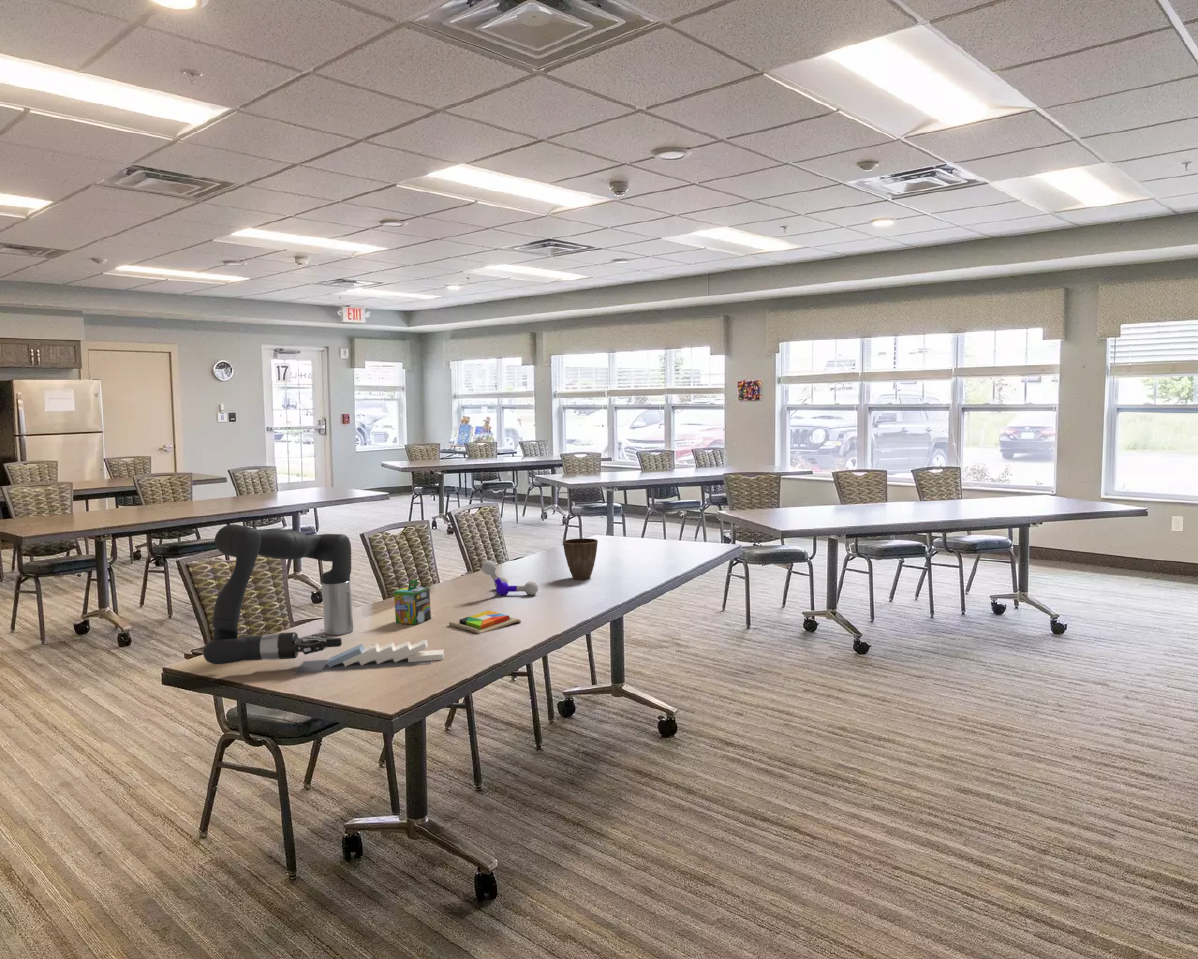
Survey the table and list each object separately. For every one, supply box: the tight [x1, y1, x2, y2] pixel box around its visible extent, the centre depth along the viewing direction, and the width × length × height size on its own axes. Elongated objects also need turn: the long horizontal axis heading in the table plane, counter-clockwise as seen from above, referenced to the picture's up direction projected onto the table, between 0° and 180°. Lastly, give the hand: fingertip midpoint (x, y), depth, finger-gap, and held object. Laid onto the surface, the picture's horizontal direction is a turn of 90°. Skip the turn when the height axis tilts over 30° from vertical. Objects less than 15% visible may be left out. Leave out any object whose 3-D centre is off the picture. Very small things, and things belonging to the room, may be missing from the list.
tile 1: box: [327, 643, 365, 668], centre depth 247 cm, size 2×5×10 cm
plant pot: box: [562, 537, 599, 581], centre depth 360 cm, size 15×15×16 cm
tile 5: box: [393, 639, 429, 662], centre depth 249 cm, size 2×5×10 cm
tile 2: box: [343, 642, 381, 666], centre depth 247 cm, size 2×5×10 cm
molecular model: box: [481, 560, 539, 597], centre depth 335 cm, size 21×21×15 cm
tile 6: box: [408, 649, 445, 662], centre depth 249 cm, size 2×5×10 cm
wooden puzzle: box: [448, 610, 522, 635], centre depth 289 cm, size 18×19×4 cm
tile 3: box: [359, 641, 396, 665], centre depth 248 cm, size 2×5×10 cm
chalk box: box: [393, 578, 432, 626], centre depth 296 cm, size 9×9×15 cm
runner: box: [294, 657, 433, 675], centre depth 248 cm, size 38×12×1 cm, turn 97°
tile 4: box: [375, 640, 412, 664], centre depth 248 cm, size 2×5×10 cm
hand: (341, 642), depth 246 cm, fingers closed
